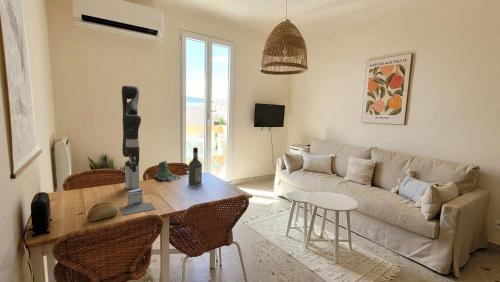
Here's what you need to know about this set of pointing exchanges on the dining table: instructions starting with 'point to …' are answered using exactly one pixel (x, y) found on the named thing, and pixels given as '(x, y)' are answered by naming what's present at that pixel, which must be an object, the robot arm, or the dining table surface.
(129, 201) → the medicine box
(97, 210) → the bread roll
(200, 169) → the liquor
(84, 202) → the dining table surface
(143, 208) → the mat
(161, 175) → the tree stump
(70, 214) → the dining table surface
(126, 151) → the robot arm
